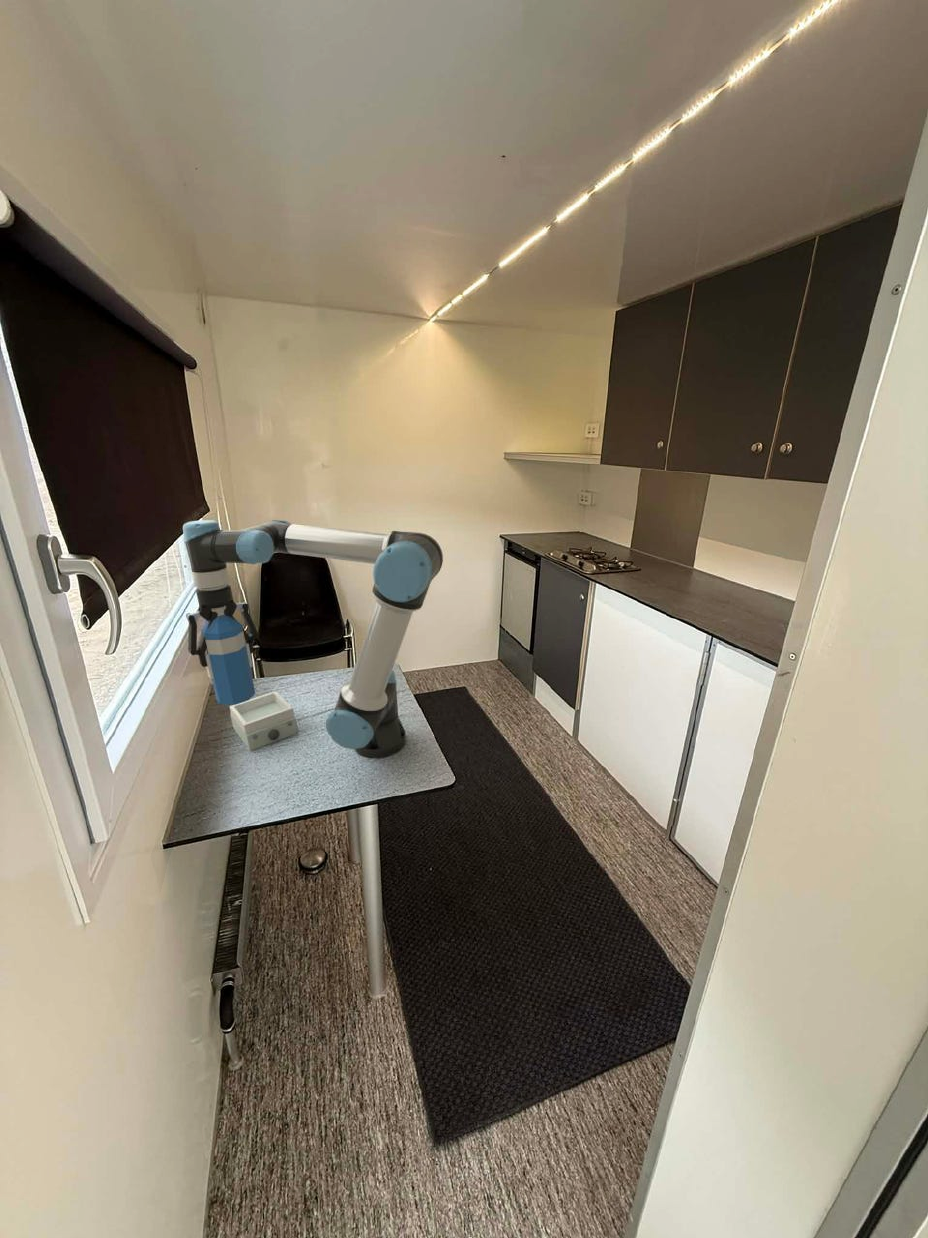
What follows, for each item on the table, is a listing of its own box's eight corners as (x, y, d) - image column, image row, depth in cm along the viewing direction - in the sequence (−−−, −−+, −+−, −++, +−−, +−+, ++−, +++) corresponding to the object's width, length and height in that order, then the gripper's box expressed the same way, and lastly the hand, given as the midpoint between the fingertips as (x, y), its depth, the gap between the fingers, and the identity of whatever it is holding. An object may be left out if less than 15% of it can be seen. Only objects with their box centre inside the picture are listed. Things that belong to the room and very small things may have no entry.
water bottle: (213, 708, 119) (191, 614, 110) (219, 691, 127) (199, 602, 119) (253, 702, 122) (235, 609, 113) (256, 685, 130) (240, 598, 121)
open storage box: (298, 733, 143) (295, 710, 140) (250, 752, 135) (245, 728, 132) (278, 711, 155) (274, 690, 152) (233, 727, 147) (228, 705, 144)
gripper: (253, 575, 124) (267, 654, 131) (158, 592, 110) (180, 679, 118) (263, 580, 118) (277, 663, 126) (165, 599, 105) (188, 690, 113)
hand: (230, 671), depth 122 cm, fingers closed on water bottle, 9 cm apart
